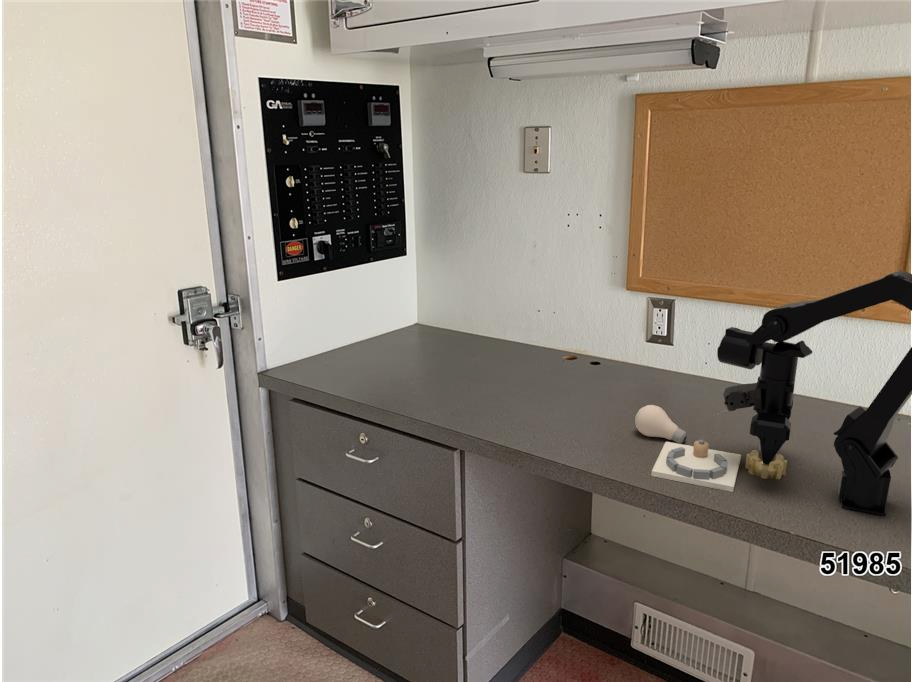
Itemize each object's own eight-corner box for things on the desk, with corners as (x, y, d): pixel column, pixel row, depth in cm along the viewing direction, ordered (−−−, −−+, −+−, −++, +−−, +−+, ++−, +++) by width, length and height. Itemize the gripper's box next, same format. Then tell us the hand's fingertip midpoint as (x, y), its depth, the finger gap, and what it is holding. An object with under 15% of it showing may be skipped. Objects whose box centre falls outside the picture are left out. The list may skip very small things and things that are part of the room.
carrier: (740, 459, 136) (742, 440, 135) (733, 492, 124) (735, 471, 123) (665, 446, 142) (667, 427, 141) (651, 475, 130) (652, 455, 129)
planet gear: (786, 466, 133) (790, 434, 131) (784, 482, 127) (789, 448, 125) (746, 459, 136) (750, 427, 134) (743, 474, 130) (747, 441, 128)
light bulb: (697, 419, 143) (648, 393, 148) (682, 435, 138) (633, 408, 144) (688, 443, 146) (641, 417, 152) (674, 459, 142) (625, 432, 148)
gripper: (734, 354, 137) (726, 429, 142) (723, 385, 121) (714, 468, 126) (798, 362, 133) (787, 439, 137) (795, 395, 117) (783, 481, 121)
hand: (767, 455), depth 130 cm, fingers open, 7 cm apart
